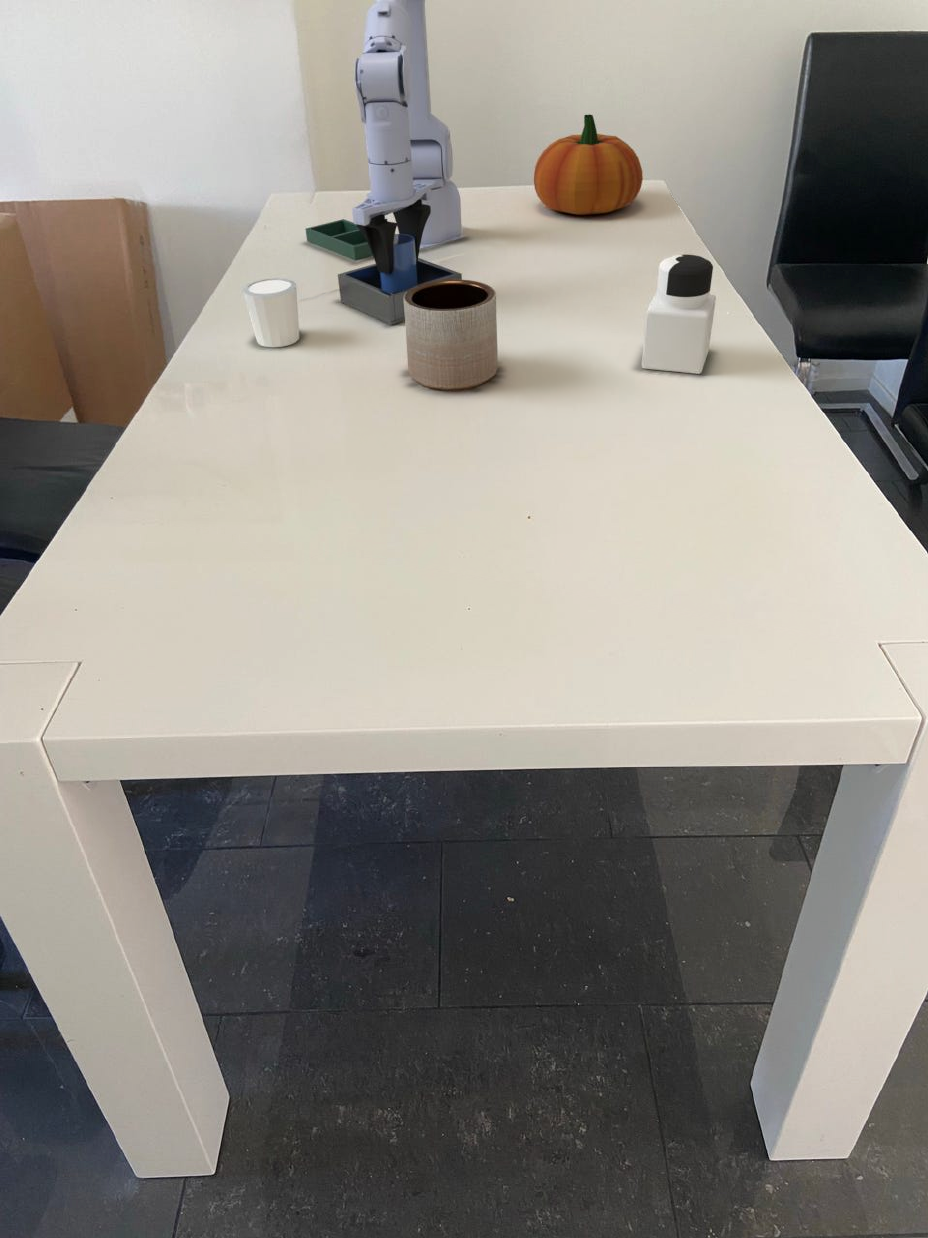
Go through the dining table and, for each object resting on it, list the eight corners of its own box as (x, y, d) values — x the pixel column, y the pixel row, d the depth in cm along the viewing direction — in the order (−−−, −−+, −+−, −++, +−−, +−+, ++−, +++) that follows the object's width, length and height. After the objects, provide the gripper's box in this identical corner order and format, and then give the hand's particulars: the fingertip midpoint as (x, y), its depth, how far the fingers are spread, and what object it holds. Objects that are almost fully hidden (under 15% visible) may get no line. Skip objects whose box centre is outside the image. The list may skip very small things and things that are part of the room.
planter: (511, 362, 111) (511, 283, 105) (475, 398, 103) (473, 316, 97) (433, 350, 115) (428, 274, 109) (392, 384, 107) (385, 304, 101)
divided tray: (345, 233, 156) (343, 218, 155) (394, 252, 147) (393, 236, 146) (307, 243, 153) (305, 228, 151) (355, 263, 143) (353, 247, 142)
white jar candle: (309, 329, 122) (301, 276, 118) (297, 349, 117) (288, 295, 112) (260, 329, 123) (250, 277, 118) (246, 349, 118) (235, 295, 113)
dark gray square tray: (410, 281, 136) (408, 253, 133) (463, 301, 128) (461, 273, 126) (340, 302, 130) (337, 274, 127) (391, 325, 122) (388, 295, 120)
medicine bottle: (708, 351, 111) (722, 251, 104) (701, 375, 106) (715, 271, 98) (651, 346, 113) (660, 247, 106) (640, 368, 108) (650, 267, 100)
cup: (397, 282, 131) (392, 231, 126) (425, 287, 128) (422, 236, 124) (374, 292, 128) (369, 241, 123) (403, 299, 125) (398, 246, 121)
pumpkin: (627, 190, 171) (634, 101, 162) (650, 218, 156) (658, 121, 147) (527, 196, 171) (527, 107, 161) (540, 225, 156) (541, 128, 146)
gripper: (400, 145, 124) (407, 247, 132) (329, 168, 115) (342, 276, 123) (441, 150, 120) (446, 254, 129) (372, 174, 111) (382, 285, 120)
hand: (398, 266), depth 126 cm, fingers closed on cup, 5 cm apart
